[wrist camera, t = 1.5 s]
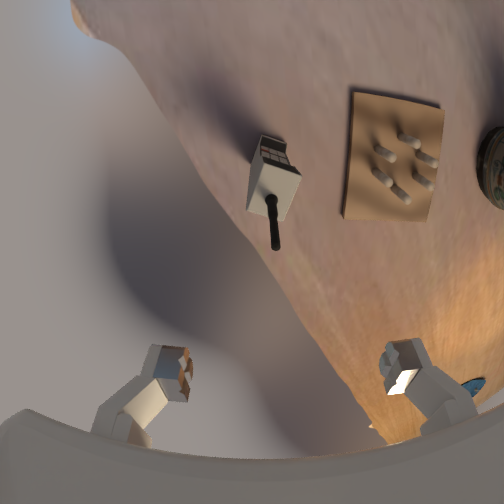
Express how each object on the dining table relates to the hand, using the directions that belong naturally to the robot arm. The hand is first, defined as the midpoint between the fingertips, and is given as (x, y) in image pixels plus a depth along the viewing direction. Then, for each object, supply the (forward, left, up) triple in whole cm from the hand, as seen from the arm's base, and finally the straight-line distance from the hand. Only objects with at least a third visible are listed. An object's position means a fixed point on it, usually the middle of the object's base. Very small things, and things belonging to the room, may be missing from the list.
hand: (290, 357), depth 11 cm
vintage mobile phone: (0, 0, -34) cm, 34 cm away
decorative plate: (+94, +88, -35) cm, 133 cm away
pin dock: (0, +20, -34) cm, 39 cm away
